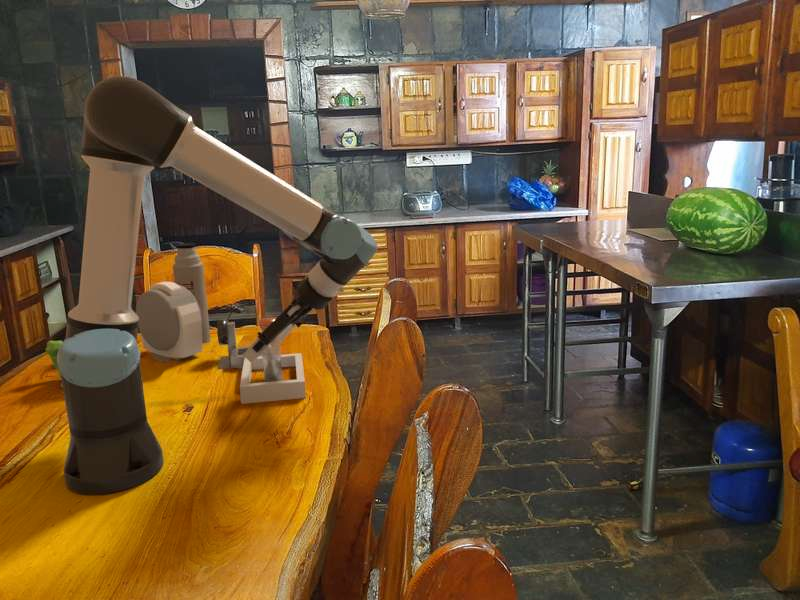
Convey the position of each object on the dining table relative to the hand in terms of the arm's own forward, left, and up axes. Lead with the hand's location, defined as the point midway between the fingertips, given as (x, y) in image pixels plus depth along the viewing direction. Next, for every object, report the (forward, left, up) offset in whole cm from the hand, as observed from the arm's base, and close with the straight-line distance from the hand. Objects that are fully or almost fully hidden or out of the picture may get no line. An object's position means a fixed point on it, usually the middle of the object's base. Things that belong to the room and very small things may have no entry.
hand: (261, 349), depth 141 cm
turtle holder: (+12, +42, -9) cm, 44 cm away
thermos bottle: (+38, +20, -9) cm, 44 cm away
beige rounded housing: (+24, +24, -9) cm, 35 cm away
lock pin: (-1, -2, -8) cm, 8 cm away
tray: (-1, -2, -8) cm, 9 cm away
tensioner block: (+14, +4, -8) cm, 17 cm away
